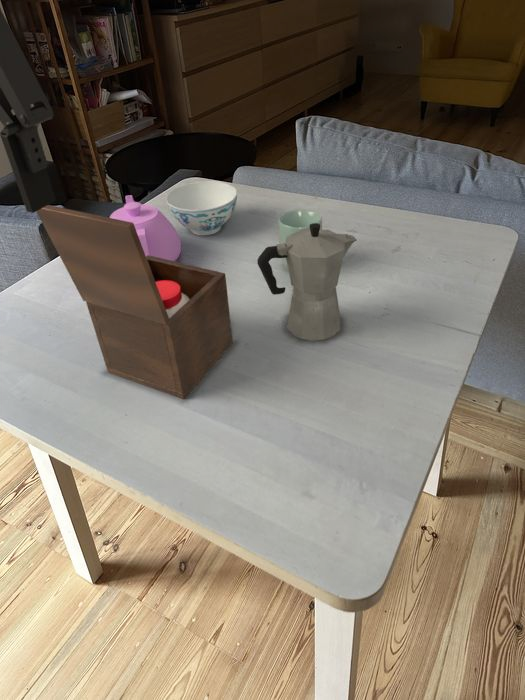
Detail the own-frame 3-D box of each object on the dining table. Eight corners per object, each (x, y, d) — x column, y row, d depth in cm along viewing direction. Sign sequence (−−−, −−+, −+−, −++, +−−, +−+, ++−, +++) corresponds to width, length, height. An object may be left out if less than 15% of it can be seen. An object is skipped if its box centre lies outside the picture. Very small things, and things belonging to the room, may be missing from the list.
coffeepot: (340, 302, 93) (345, 204, 82) (362, 333, 86) (371, 230, 75) (254, 319, 90) (247, 220, 79) (270, 353, 83) (265, 249, 72)
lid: (38, 202, 62) (33, 206, 62) (133, 222, 57) (129, 226, 56) (86, 297, 73) (83, 300, 73) (170, 321, 68) (166, 325, 67)
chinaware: (240, 211, 123) (238, 179, 119) (239, 242, 112) (236, 207, 107) (176, 215, 124) (170, 182, 119) (167, 246, 112) (161, 211, 107)
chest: (162, 322, 91) (147, 254, 83) (233, 343, 86) (225, 273, 77) (107, 372, 82) (85, 301, 73) (183, 399, 76) (169, 326, 68)
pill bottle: (207, 343, 84) (199, 283, 77) (177, 372, 79) (164, 311, 72) (169, 329, 88) (158, 271, 81) (138, 356, 83) (122, 296, 76)
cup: (329, 265, 103) (330, 217, 96) (301, 281, 99) (301, 232, 92) (299, 252, 107) (298, 205, 101) (271, 267, 103) (269, 219, 97)
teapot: (192, 279, 101) (183, 220, 94) (109, 296, 98) (93, 237, 91) (173, 230, 118) (163, 177, 110) (101, 243, 115) (86, 189, 107)
